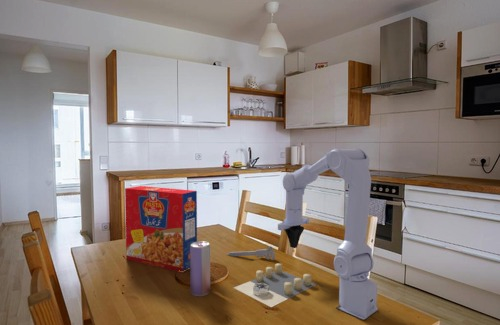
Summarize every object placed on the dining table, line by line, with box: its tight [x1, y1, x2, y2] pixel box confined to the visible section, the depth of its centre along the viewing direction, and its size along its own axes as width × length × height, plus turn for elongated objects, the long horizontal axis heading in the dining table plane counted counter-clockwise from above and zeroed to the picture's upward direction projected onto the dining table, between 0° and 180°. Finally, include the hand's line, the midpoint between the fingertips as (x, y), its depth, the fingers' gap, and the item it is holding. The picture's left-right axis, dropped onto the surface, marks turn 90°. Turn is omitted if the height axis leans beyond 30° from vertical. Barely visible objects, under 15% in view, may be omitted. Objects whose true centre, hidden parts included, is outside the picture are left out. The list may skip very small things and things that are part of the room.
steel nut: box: [253, 283, 269, 297], centre depth 95 cm, size 5×4×2 cm
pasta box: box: [124, 185, 198, 272], centre depth 122 cm, size 28×8×28 cm, turn 63°
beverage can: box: [189, 240, 211, 297], centre depth 97 cm, size 6×6×15 cm
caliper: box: [226, 246, 276, 261], centre depth 127 cm, size 20×1×6 cm, turn 66°
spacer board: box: [233, 262, 317, 308], centre depth 100 cm, size 16×21×4 cm
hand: (293, 247), depth 112 cm, fingers closed
